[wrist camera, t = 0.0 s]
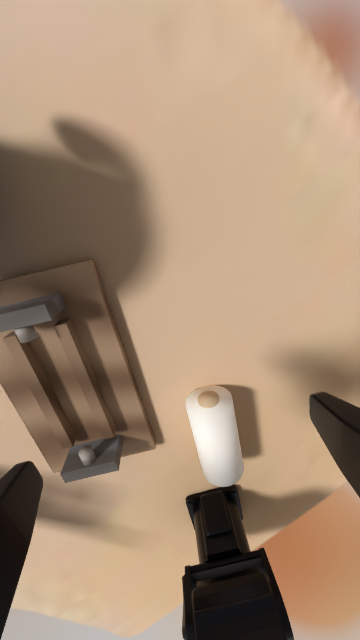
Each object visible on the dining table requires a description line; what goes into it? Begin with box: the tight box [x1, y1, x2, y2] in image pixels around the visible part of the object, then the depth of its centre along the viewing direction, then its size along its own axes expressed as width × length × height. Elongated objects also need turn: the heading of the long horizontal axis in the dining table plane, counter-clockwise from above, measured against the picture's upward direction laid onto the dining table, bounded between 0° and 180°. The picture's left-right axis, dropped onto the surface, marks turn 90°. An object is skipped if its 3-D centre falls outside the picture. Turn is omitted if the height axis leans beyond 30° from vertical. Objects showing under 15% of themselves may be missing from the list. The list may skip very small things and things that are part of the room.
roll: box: [186, 385, 244, 487], centre depth 25 cm, size 10×4×4 cm, turn 12°
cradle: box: [0, 259, 155, 483], centre depth 22 cm, size 20×11×4 cm, turn 12°
